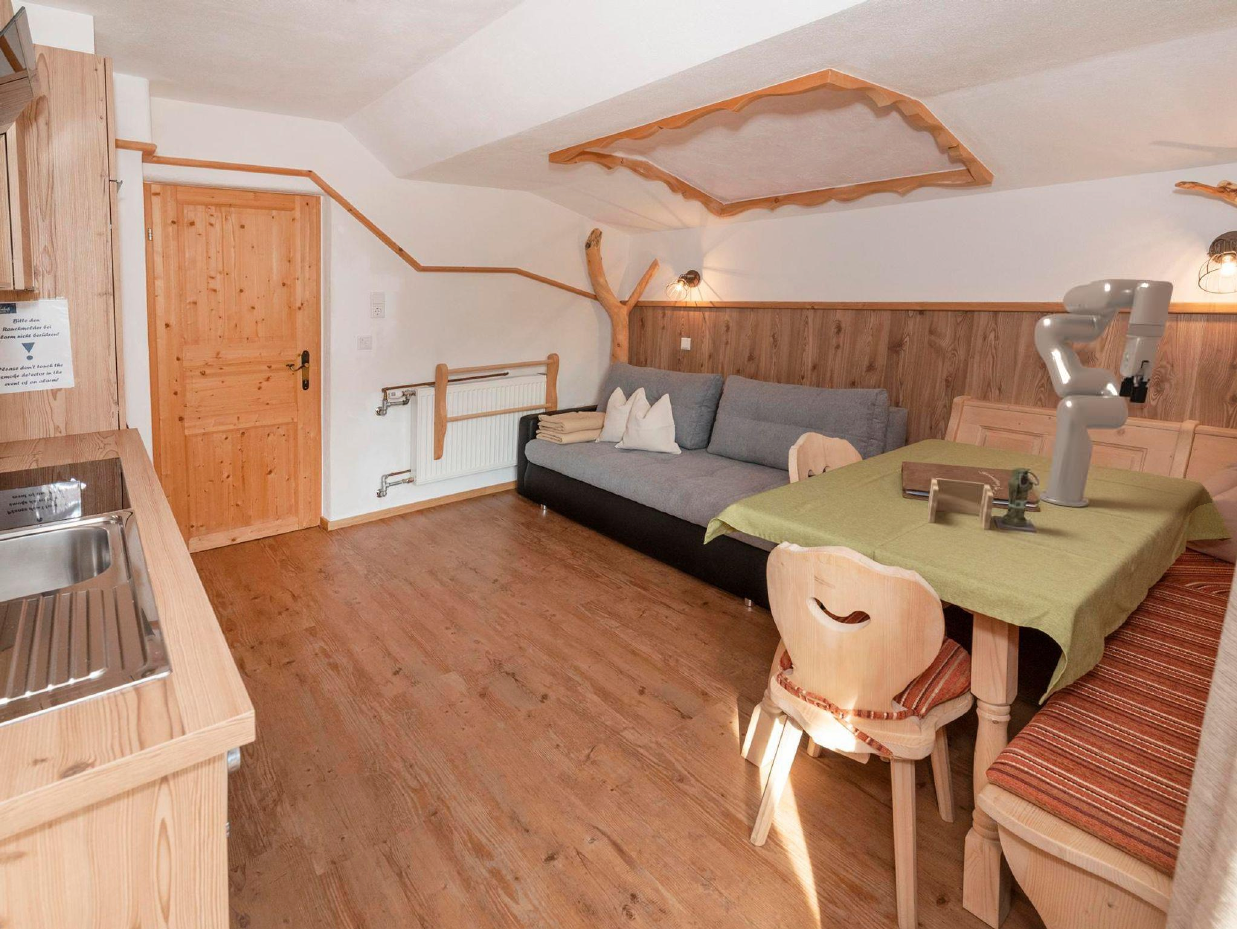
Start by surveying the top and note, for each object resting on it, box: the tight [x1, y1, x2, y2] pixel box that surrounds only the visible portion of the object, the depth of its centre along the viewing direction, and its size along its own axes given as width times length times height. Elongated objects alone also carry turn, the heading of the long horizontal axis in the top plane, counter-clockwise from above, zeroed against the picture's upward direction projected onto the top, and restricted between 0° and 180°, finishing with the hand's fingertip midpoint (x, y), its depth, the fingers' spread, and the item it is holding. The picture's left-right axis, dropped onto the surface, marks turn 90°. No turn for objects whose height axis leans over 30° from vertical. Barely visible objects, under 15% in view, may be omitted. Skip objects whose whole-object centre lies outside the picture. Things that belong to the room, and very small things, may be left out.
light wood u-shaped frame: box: [927, 477, 995, 531], centre depth 198 cm, size 13×14×9 cm
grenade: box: [1002, 467, 1040, 527], centre depth 191 cm, size 7×7×15 cm
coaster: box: [993, 515, 1037, 534], centre depth 194 cm, size 9×9×1 cm
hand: (1131, 399), depth 186 cm, fingers open, 9 cm apart
